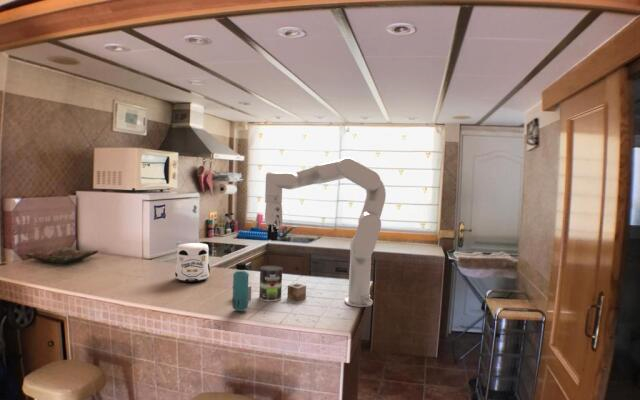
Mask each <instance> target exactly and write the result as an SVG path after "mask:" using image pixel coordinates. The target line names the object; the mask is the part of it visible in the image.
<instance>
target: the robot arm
mask: <svg viewBox="0 0 640 400" xmlns="http://www.w3.org/2000/svg"><path fill="white" fill-rule="evenodd" d="M265 174H266V175H265V192H264V193H265V194H264V196H265V197H264V198H265V200H264V203H265V213H264V222H265V224H266V227H267V228H266V231H267V234H266V235H267V236H266V239H267V240H270V241H272V242H275V241H276V242H277V241H278V235H279V234H278V233H279V228H280V227H281V226H282V225H283V207H282V202H283V189H285V190H294V189H298V188H301V187H306V186H311V185H318V184H319V185H320V184H325V183H328V182H333V181H337V180H344V179H346V180H348V181H350V182H352V183H353V184H355V185H357V186H359V187H360V188H363V189H364V190H365V192H366V195H365V196H366V197H365V200H364V204H363V207H362V210H361V213H360V215H359V217H358V221H357V222H358V225H357V228H356V231H355V234H354V236H353V237H352V238H351V241H350V243H349V244H350V245H349V247H350V248H349V253H350V254H349V257H350V258H349V274H348V295H347V296H346V297H345V298H344V303H345V304H346V305H347V306H351V307H354V308H355V307H356V308H367V307H370V306H372V305H373V303H374V300H372V298H371V295H370V293H371V292H370V291H371V289H370V287H371V274H372V273H371V270H372V254H373V253H374V252H375V251H374V250H375V248H376V244H377V241H378V239H379V235H380V233H381V229H382V221H381V216H382V214H383V210H384V206H385V202H386V196H387V195H386V194H387V193H386V187H385V185H384V183H383V181H382V179H381V177H380V175H379V174H378V172H376V171H374V170H373V169H370V168H369V167H367V166H365V165H363V164H362V163H360V162H358V161H357V160H355V159H354V158H351V157H343V158H341V159H338V160H333V161H329V162H324V163H321V164H317V165H314V166H313V167H309V168H306V169H303V170H298V171H294V172H274V171H272V172H271V171H270V172H266V173H265Z"/></svg>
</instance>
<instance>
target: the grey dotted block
mask: <svg viewBox="0 0 640 400" xmlns="http://www.w3.org/2000/svg"><path fill="white" fill-rule="evenodd" d="M251 284H252V283H250V282H248V301H250V300H252V285H251Z"/></svg>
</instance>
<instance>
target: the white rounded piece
mask: <svg viewBox="0 0 640 400" xmlns="http://www.w3.org/2000/svg"><path fill="white" fill-rule="evenodd" d="M209 250H210V248H209V245H208V244H207V243H201V242H199V243H197V242H191V243H190V242H189V243H187V242H186V243H181V244H178V245H177V246H176V252H177V253H176V266H175V269H174V276H175V278H176V279H177V280H178V281H180V282H184V283H195V282H201V281H205V280H206V279H208V278H209V276H210V273H211V268H210V264H209Z"/></svg>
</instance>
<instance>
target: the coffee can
mask: <svg viewBox="0 0 640 400" xmlns="http://www.w3.org/2000/svg"><path fill="white" fill-rule="evenodd" d="M283 269H284V268H283V267H282V266H278V265H274V264H273V265H270V264H269V265H267V264H266V265H262V266H260V267H259V295H258V296H259V297H258V298H259V300H260V301H264V302H277V301H280V300H281V299H282V289H283V288H282V287H283V286H282V284H283V281H282V280H283Z"/></svg>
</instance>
